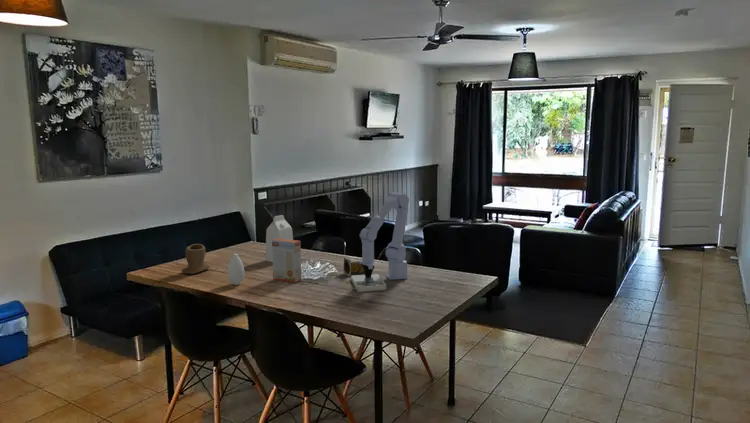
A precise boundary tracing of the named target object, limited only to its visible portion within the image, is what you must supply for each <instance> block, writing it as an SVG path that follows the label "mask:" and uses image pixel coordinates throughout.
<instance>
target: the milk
mask: <svg viewBox="0 0 750 423" xmlns="http://www.w3.org/2000/svg"><path fill="white" fill-rule="evenodd" d="M272 220H273V221H272V222H271V223H270V225H269V226H268V227H267V228H266V231H265V232H266V233H265V261H266V262H271V263H273V253H272V240H274V239H277V238H282V239H290V240H294V236H293V228H292V226H291V225H290V223H288V221H287V220H286V219H285V216H284V215H283V214H281V215H275V216H273V219H272Z"/></svg>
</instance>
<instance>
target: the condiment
mask: <svg viewBox="0 0 750 423" xmlns="http://www.w3.org/2000/svg"><path fill="white" fill-rule="evenodd" d="M360 261H361V260H360ZM360 261H352V260H350V259H348V258H345V257H343V275H344V274H345V275H346V276H349V277H351V275H353V274H354V275H355V274H362V273H365V272H364V269H363V267H362V265H364V264H361V263H360Z"/></svg>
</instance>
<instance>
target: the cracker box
mask: <svg viewBox="0 0 750 423" xmlns="http://www.w3.org/2000/svg"><path fill="white" fill-rule="evenodd" d="M301 244H302V242H301V240H297V239H296V240H295V239H293V240H290V239H282V238H277V239H274V240H272V253H273V262H272V278H273V280H275V281H282V282H287V283H292V284H295V283H298V282H301V281H302V251H301V249H302V248H301Z"/></svg>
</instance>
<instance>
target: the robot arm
mask: <svg viewBox="0 0 750 423" xmlns="http://www.w3.org/2000/svg"><path fill="white" fill-rule="evenodd" d="M409 201H410V198H409V196H408V194H406V193H401V192H395V191H389V193H387V196H386V197H385V202H384V203H383V205H382V207H381V209H380V210H379V212H378V214H377V215H374V216H373V217H371V219H370V221H369V223H367V225H366V227H365V228H363V229H361V230H360V233H359V239H360V240H361V245H362V246H361V249H362V252H361V256H362V257H361V260H360V263H361V264H364V265H362V267H363V269H364V272H363V273H364V275H365V278H369V277H371V275H372V274H373V272H374V270H375V266H374V265H375V240H376V239H377V236H378V231H379V230H380V228H381V227H382V226H383V224H384V219H385V217H387V215H388V214H389V213H390V211H391V210H392V209H395V211H396V214H395V215H396V216H395V222H394V226H393V227H394V228H393V232H392V240H391V242H389V243H388V244H387V247H386V249H385V253H384V254H385V257H386V259H387V261H388V274H386V277H387V278H388V280H389V281H391V280H392V281H393V280H407V279H408V263H407V260H405V259H406V257H407V252H406V251H407V250H406V249H407V247H406V246H405V244H404V243H403V242H404V237H405V231H406V224H407V221H408V220H407V219H408V218H407V217H408V212H409Z"/></svg>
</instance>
